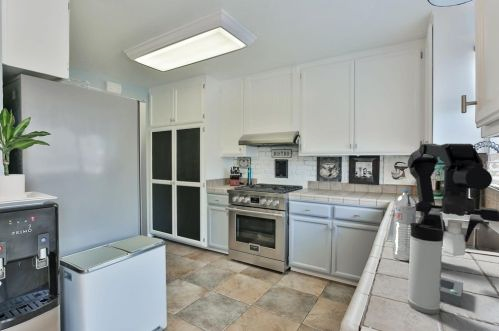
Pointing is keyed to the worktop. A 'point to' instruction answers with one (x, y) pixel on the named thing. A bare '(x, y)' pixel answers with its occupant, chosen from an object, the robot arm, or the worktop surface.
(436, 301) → the travel mug
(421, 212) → the robot arm
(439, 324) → the worktop surface
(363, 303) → the worktop surface
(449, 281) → the socket dock
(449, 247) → the pepper shaker
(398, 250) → the water bottle
